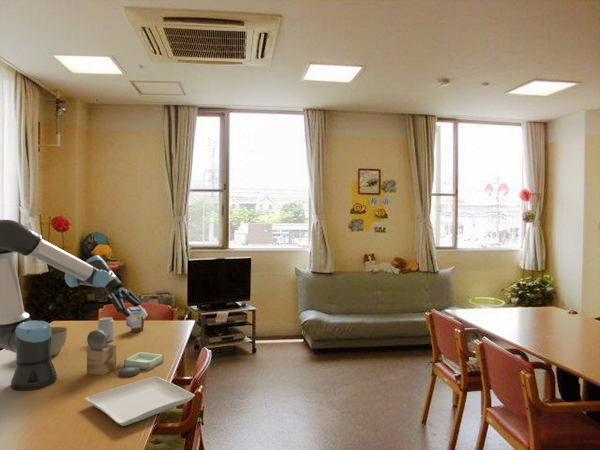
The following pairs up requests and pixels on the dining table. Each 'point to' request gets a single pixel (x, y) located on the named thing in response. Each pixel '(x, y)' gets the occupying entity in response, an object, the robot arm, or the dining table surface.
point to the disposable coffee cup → (139, 327)
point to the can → (107, 327)
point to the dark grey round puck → (129, 371)
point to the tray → (144, 360)
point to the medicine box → (137, 315)
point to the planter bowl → (58, 339)
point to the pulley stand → (100, 353)
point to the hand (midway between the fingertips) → (139, 318)
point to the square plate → (139, 400)
